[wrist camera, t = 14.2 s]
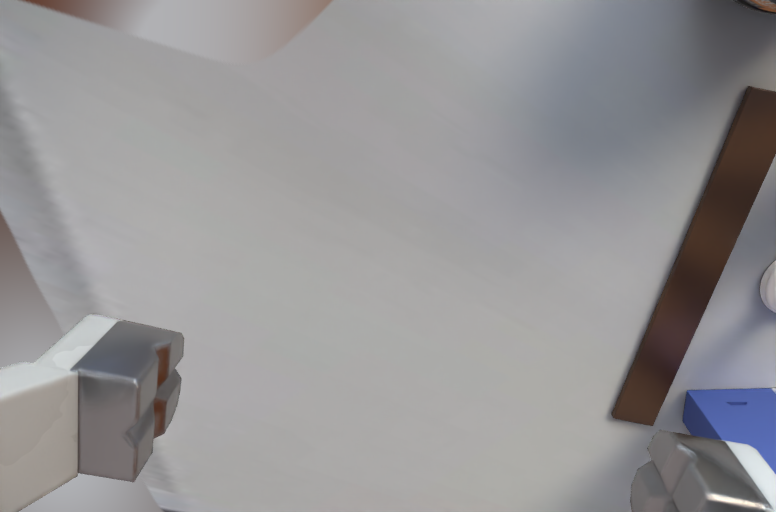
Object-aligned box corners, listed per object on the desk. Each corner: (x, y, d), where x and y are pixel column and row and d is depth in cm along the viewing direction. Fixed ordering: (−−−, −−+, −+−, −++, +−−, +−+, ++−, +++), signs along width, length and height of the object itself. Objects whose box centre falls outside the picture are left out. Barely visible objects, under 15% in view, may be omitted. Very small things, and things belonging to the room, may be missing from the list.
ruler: (747, 86, 35) (752, 86, 35) (796, 96, 35) (801, 97, 35) (611, 414, 44) (613, 418, 44) (650, 422, 45) (652, 426, 44)
